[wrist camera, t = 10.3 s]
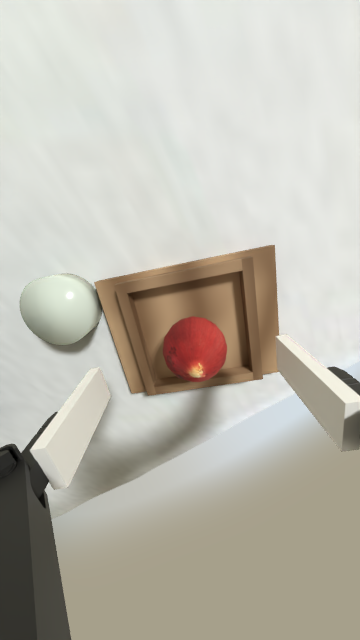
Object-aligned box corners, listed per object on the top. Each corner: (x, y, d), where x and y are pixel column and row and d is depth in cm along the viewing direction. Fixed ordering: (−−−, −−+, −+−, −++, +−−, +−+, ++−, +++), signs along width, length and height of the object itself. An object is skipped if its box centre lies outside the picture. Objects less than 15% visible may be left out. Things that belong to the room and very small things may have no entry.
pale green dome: (54, 338, 25) (37, 349, 22) (29, 280, 22) (6, 285, 20) (110, 328, 24) (99, 338, 21) (89, 267, 22) (75, 270, 19)
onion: (190, 364, 24) (188, 419, 16) (156, 328, 23) (138, 371, 15) (231, 335, 22) (251, 382, 15) (198, 295, 21) (201, 325, 13)
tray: (134, 387, 27) (128, 402, 24) (99, 280, 22) (87, 285, 20) (276, 365, 25) (286, 379, 22) (269, 245, 20) (281, 245, 18)
